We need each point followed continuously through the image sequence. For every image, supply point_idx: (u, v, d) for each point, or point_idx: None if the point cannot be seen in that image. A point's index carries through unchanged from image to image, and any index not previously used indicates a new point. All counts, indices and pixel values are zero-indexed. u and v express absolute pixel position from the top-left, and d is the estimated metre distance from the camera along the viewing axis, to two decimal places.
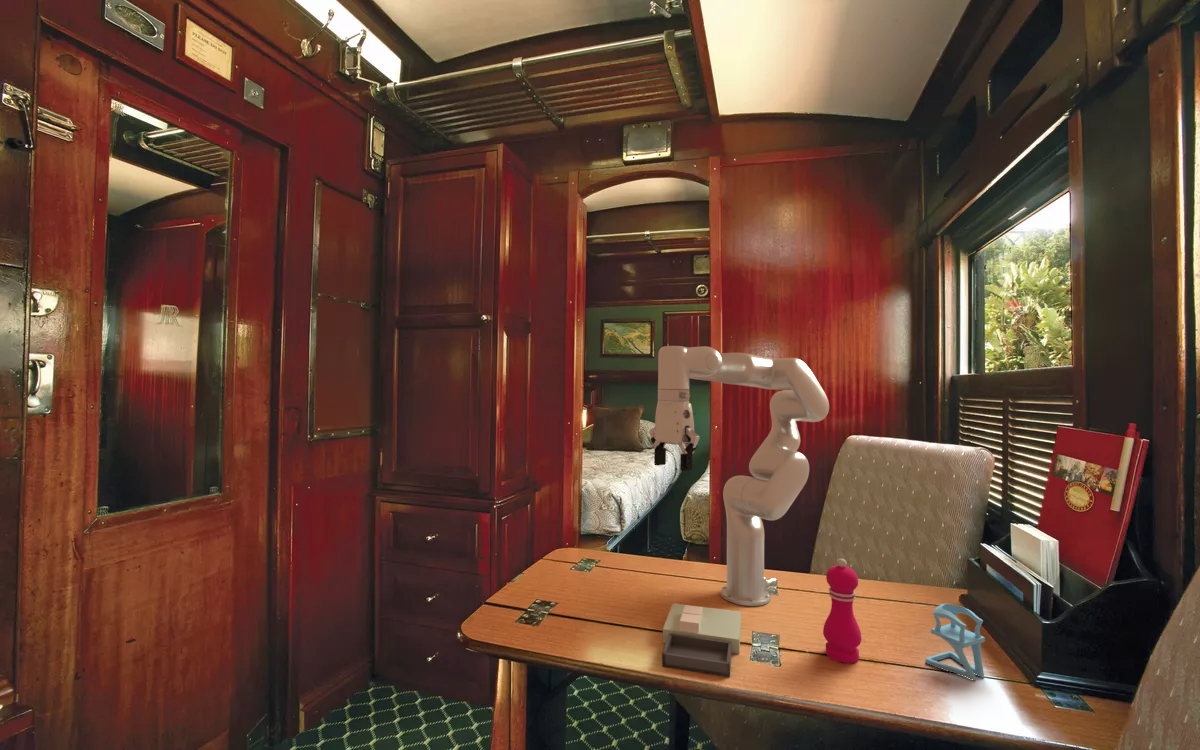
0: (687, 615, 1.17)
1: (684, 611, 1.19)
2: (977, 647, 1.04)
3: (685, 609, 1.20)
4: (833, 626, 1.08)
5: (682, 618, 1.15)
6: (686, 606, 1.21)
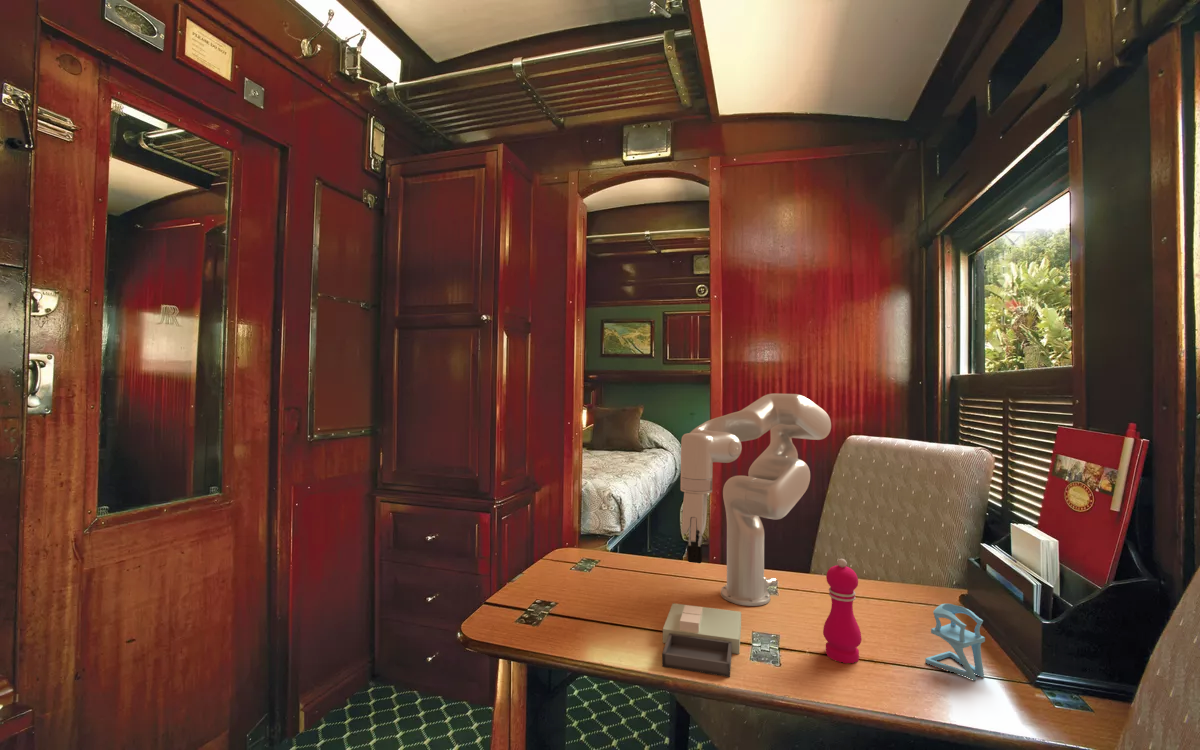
0: (687, 615, 1.17)
1: (684, 611, 1.19)
2: (977, 647, 1.04)
3: (685, 609, 1.20)
4: (833, 626, 1.08)
5: (682, 618, 1.15)
6: (686, 606, 1.21)
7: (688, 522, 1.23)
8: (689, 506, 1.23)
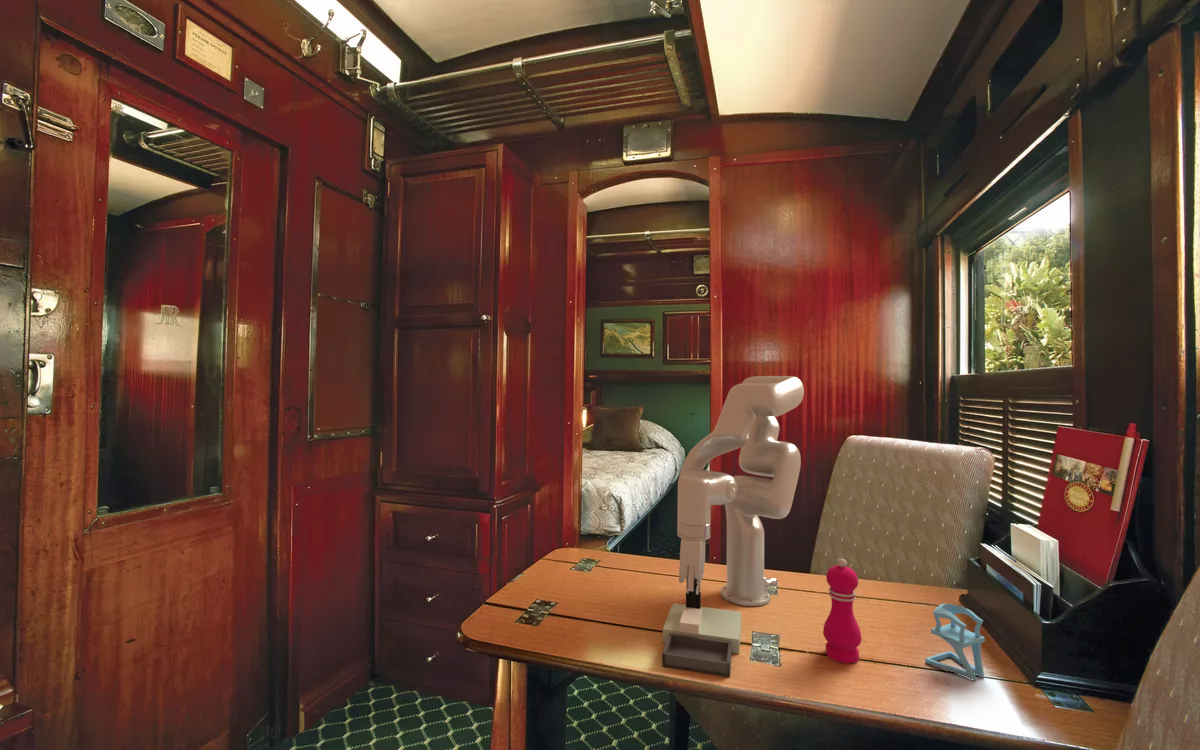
0: (687, 616, 1.16)
1: (684, 613, 1.18)
2: (977, 647, 1.04)
3: (685, 611, 1.19)
4: (833, 626, 1.08)
5: (682, 619, 1.15)
6: (686, 608, 1.20)
7: (685, 570, 1.18)
8: (686, 554, 1.18)
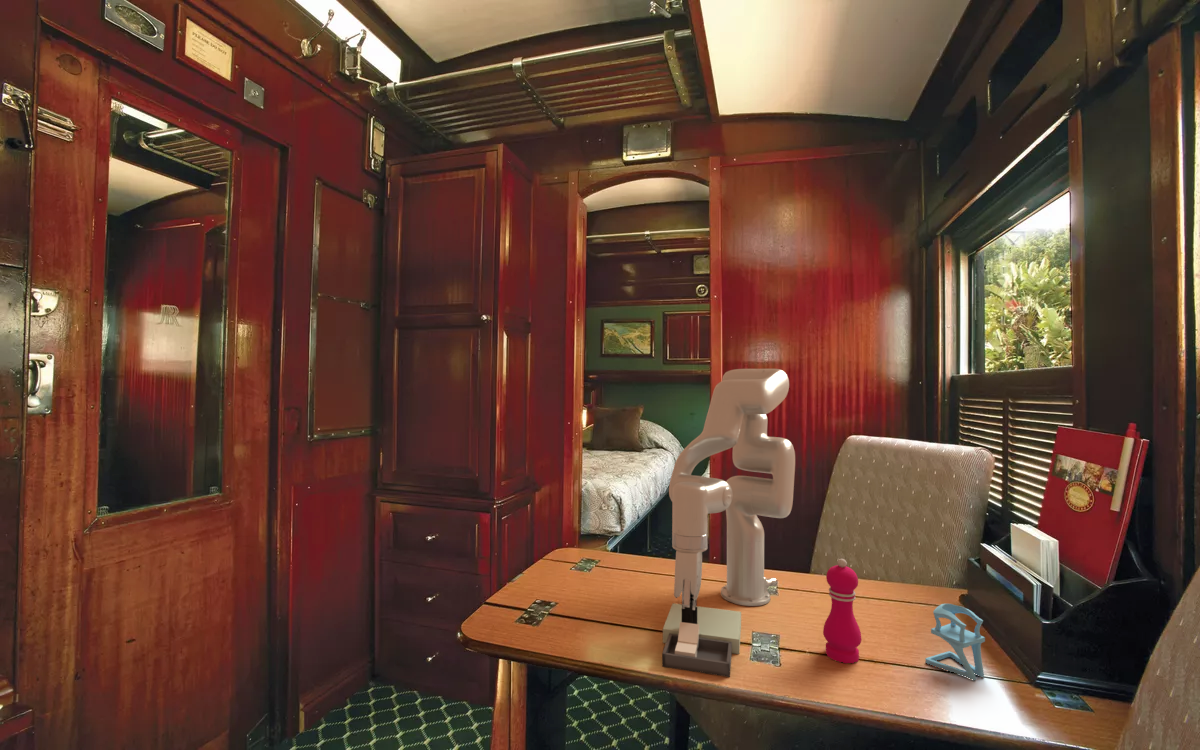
0: None
1: (679, 638, 1.10)
2: (977, 647, 1.04)
3: (680, 633, 1.11)
4: (833, 626, 1.08)
5: None
6: (681, 625, 1.12)
7: (681, 585, 1.10)
8: (682, 567, 1.10)
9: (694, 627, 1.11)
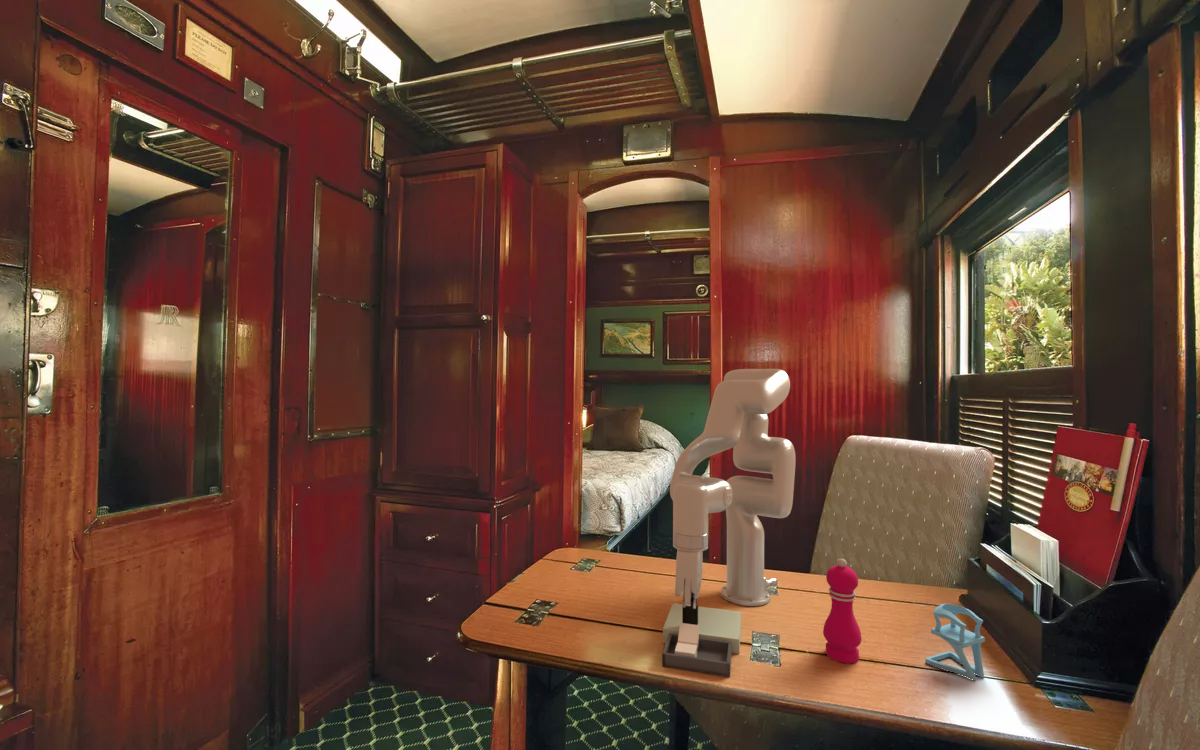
0: None
1: (679, 638, 1.10)
2: (977, 647, 1.04)
3: (680, 633, 1.11)
4: (833, 626, 1.08)
5: None
6: (681, 626, 1.12)
7: (682, 584, 1.11)
8: (683, 566, 1.11)
9: (694, 628, 1.11)
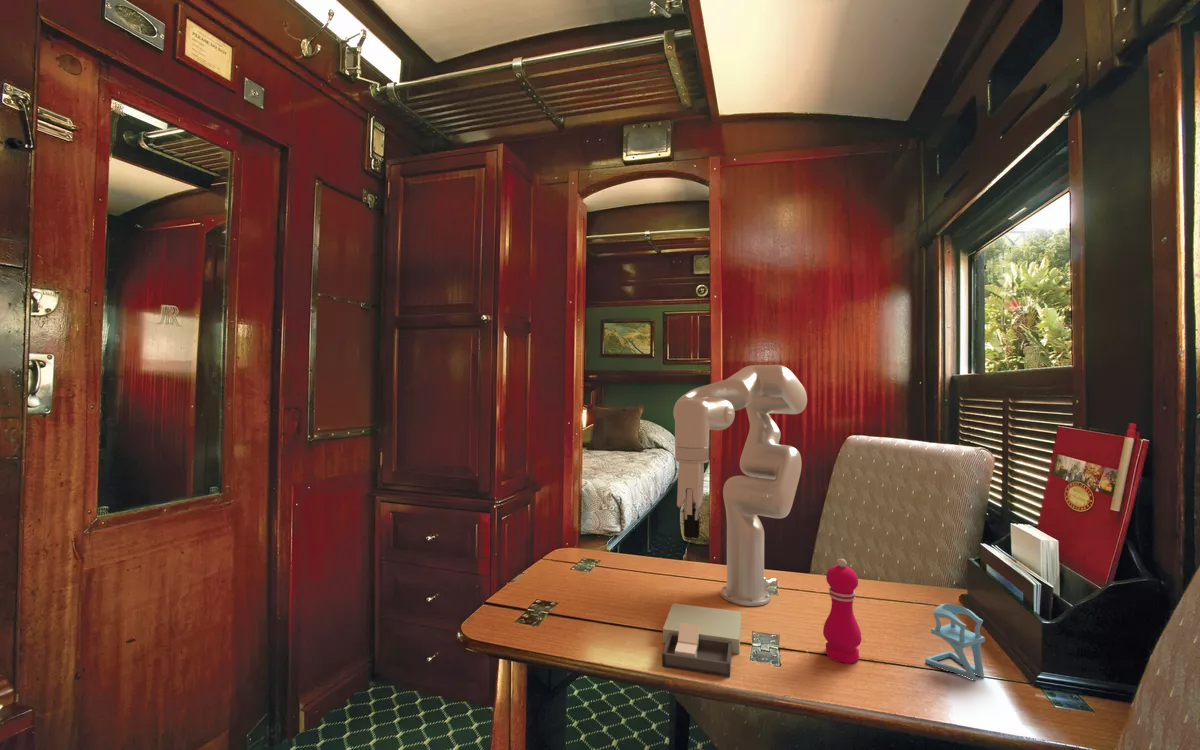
0: None
1: (679, 638, 1.10)
2: (977, 647, 1.04)
3: (680, 633, 1.11)
4: (833, 626, 1.08)
5: None
6: (681, 626, 1.12)
7: (684, 494, 1.14)
8: (684, 477, 1.14)
9: (694, 628, 1.11)
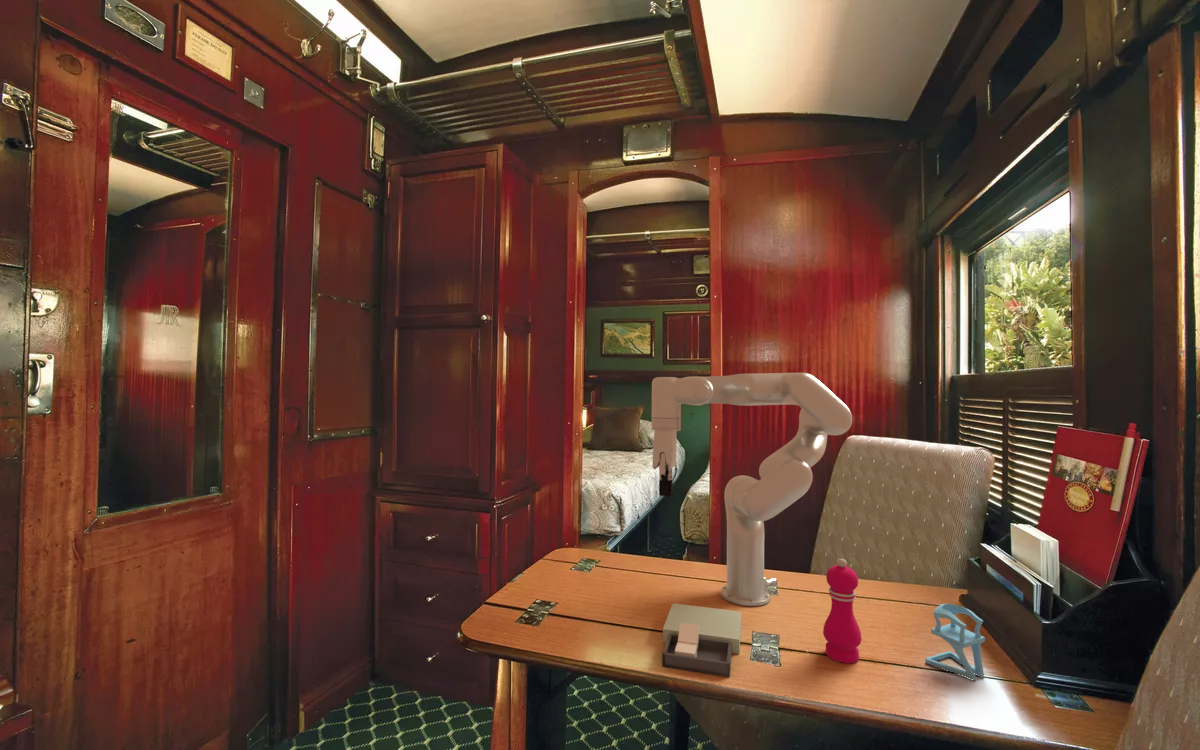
0: None
1: (679, 638, 1.10)
2: (977, 647, 1.04)
3: (680, 633, 1.11)
4: (833, 626, 1.08)
5: None
6: (681, 626, 1.12)
7: (658, 457, 1.33)
8: (659, 442, 1.33)
9: (694, 628, 1.11)
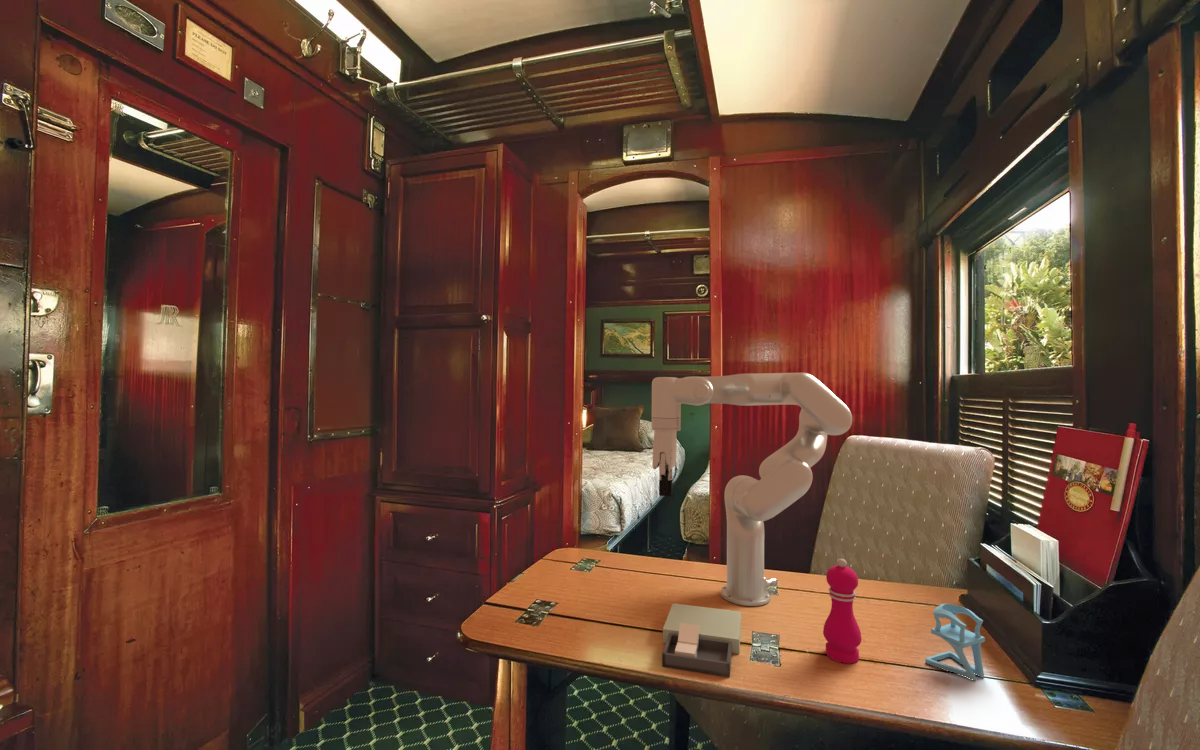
0: None
1: (679, 638, 1.10)
2: (977, 647, 1.04)
3: (680, 633, 1.11)
4: (833, 626, 1.08)
5: None
6: (681, 626, 1.12)
7: (658, 457, 1.33)
8: (658, 442, 1.33)
9: (694, 628, 1.11)
